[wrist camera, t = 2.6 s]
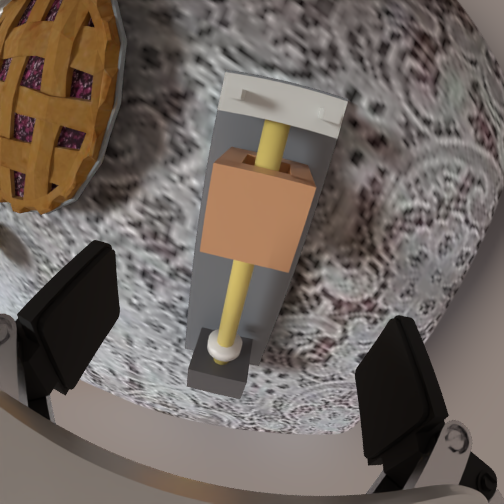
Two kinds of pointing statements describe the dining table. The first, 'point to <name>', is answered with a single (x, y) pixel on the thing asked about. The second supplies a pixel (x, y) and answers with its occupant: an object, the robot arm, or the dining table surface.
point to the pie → (57, 97)
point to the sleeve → (256, 210)
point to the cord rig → (240, 273)
